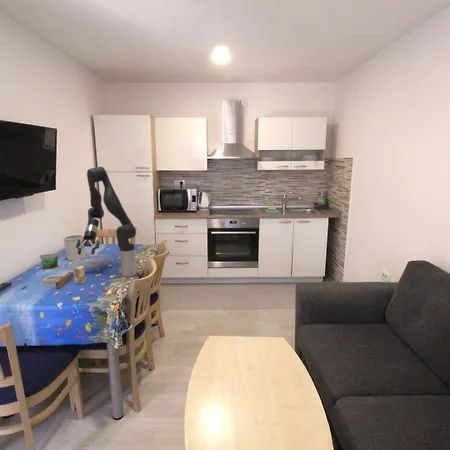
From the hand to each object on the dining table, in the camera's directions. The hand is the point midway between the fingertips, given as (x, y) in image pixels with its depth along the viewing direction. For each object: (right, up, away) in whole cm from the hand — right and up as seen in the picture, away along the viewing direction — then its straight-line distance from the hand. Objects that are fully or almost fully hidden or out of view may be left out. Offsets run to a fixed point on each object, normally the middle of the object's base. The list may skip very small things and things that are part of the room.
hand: (85, 254), depth 207 cm
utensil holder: (-26, -7, +43) cm, 51 cm away
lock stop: (+1, -17, -8) cm, 19 cm away
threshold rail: (-9, -17, -9) cm, 21 cm away
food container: (-35, -12, +21) cm, 42 cm away
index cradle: (-16, -17, -9) cm, 25 cm away
